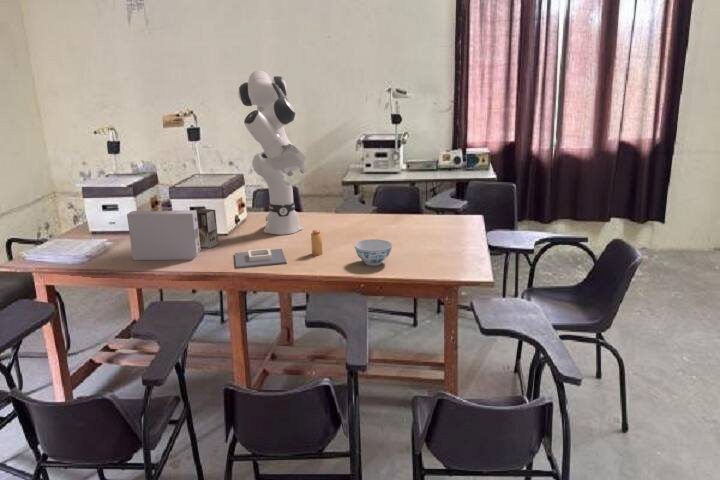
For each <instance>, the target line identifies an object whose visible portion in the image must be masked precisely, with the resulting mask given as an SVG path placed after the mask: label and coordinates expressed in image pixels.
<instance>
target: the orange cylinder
mask: <svg viewBox="0 0 720 480" xmlns="http://www.w3.org/2000/svg"><path fill="white" fill-rule="evenodd" d="M310 235H311V236H310V237H311V238H310V239H311V255H312V256H315V257H317V256H321V255H323V233H322V232H321V230H320V229H314V230H312V233H310Z"/></svg>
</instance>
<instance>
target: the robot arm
mask: <svg viewBox="0 0 720 480" xmlns="http://www.w3.org/2000/svg"><path fill="white" fill-rule="evenodd" d="M287 93H288V85H287V82H286V80H285V79H284V78H283V77H282V76H278V75H277V76H272V77H271V76H270V75H269V74H268V73H267V72H266V71H264V70H259V69H258V70H254V71H253V72H252V73H251V74H249V77H248V81H247V82H243V83H242V84H240V85H239V87H238V97H239V100H240V102H241V103H242V105H244V107H253V106H257V108H256V110H252V111H251V112H249V114H247V116H246V117H245V118H244V119H243V120H244V121H243V122H244V125H245V127H246V129H247V130H248V132H249V133H250V135H251V137H253V139H254V140H255V141H256V142H257V143H259V145H260V146H261V149H263V151H262V152H260V153H256V154H255V155H254V156H253V158H252V163H251V164H252V165H251V166H252V168H253V171H255V173H256V174H257V175H259V177H260V176H261V178H262V179H263V180H264V181H265V183H266V186H267V189H268V194H269V203H268V204H269V206H268V208H269V212H268V214H267V216H265V222H266V225H265V227H264V229H263V233H264V234H265V233H266V234H271V235H277V236H278V235H282V236H283V235H290V234H295V233H297V232H299V231H303V229H304V226H301V225H300V221H299V219H300V218H299V214H298V213H299V212H298V211H296V210H295V209H296V206H295V201H294V192H293V191H294V190H293V186H292V184H291V183H290V182H289V181H286V180H284V179H282V174H286V175H287V176H288V177H291V176H293V175H294V173H295V172H298V171H299V172H301V173H302V174H306V172H307V169H306V167H305V165H306V161H307V156H306V155H305V154H304V152H303V151H302V150H301V149H300V148H299V147H298V146H296V145H294V144H293V143H292V142H291V141H290V139H289V137H288V135H287V133H286V130H285V126H286V125H289V124H290V123H292V122H293V121H294V120H295V117H296V111H295V109H294V106H293V105H292V104H291V102H290V101H289V100H288V98H287Z"/></svg>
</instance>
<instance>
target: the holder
mask: <svg viewBox="0 0 720 480" xmlns="http://www.w3.org/2000/svg"><path fill="white" fill-rule="evenodd" d="M234 260H235V267H236V269H242V268H243V269H244V268H253V267H264V266H276V265H277V266H278V265H287V264H288V263H287V258H286V257H285V254H284V251H283V249H282V248H277V249H270V248H262V249H261V248H259V249H250V250H249V249H248V250H247V251H243V252H241V251H240V252H234Z"/></svg>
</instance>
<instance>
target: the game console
mask: <svg viewBox="0 0 720 480" xmlns="http://www.w3.org/2000/svg"><path fill="white" fill-rule="evenodd" d="M126 218H127V224H128V225H127V226H128V232H129V233H128V234H129V239H130V246H131V247H130V249H131V254H132V255H131V256H132V260H133V261H163V260H164V261H166V260H167V261H168V260H169V261H173V260H174V261H177V260H179V261H181V260H193V259H194V258H195V257H196V256H197V255H198V254H199V253H200V251H201V247H200V240H199V230H198V220H197V211H196V209H194V210H192V209H191V210H186V209H185V210H178V209H176V210H157V211H156V210H155V211H154V210H151V211H150V210H149V211H148V210H145V211H140V210H139V211H138V210H133V211H130V212H128V213H127V214H126Z"/></svg>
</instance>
